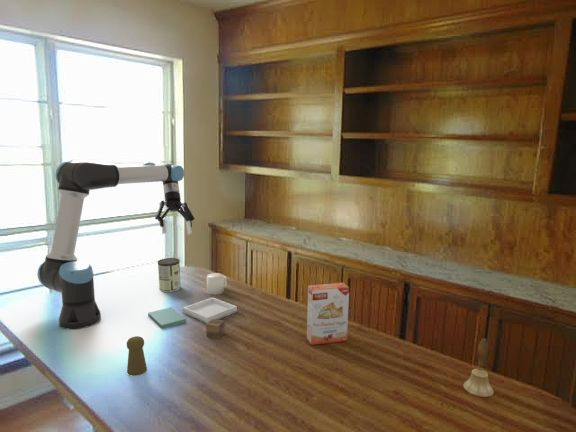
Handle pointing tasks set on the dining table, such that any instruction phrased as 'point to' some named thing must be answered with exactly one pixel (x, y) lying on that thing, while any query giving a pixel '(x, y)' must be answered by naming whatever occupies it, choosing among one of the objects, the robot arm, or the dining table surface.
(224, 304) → the tray
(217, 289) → the mug
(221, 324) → the walnut block
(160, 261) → the coffee can
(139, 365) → the cork
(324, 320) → the cracker box
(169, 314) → the teal notebook
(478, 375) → the hand bell
